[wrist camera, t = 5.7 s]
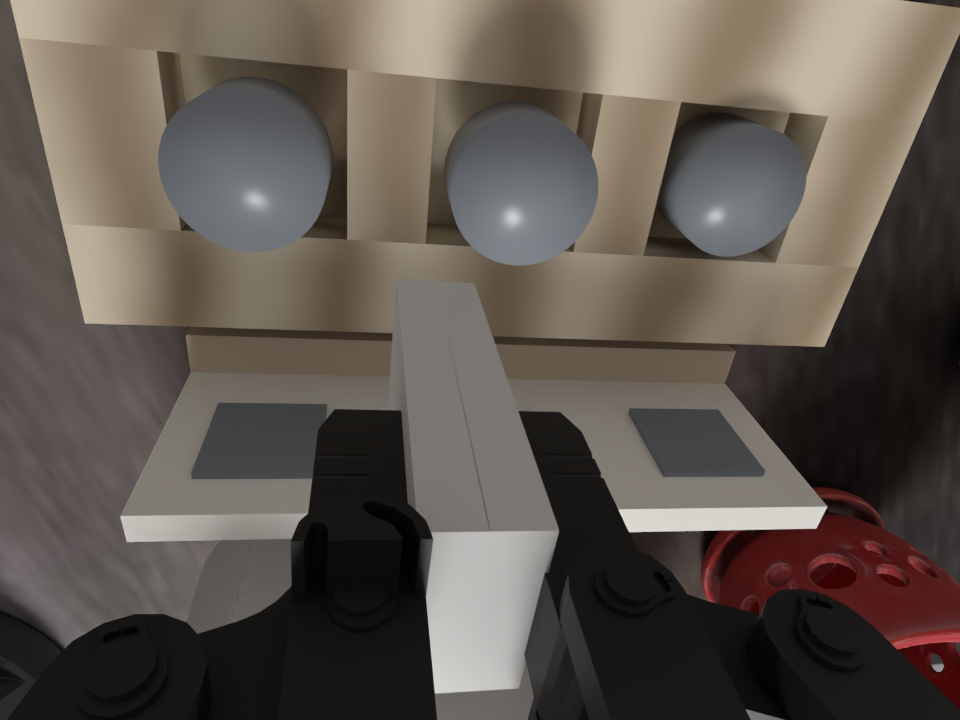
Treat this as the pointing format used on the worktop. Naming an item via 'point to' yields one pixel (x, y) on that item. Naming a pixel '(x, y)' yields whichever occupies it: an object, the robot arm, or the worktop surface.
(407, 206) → the button board
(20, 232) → the worktop surface
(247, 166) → the button
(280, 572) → the rounded white slab
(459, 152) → the button centre
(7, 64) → the worktop surface
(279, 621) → the robot arm
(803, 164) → the button
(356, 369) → the pattern card
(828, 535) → the plant pot
